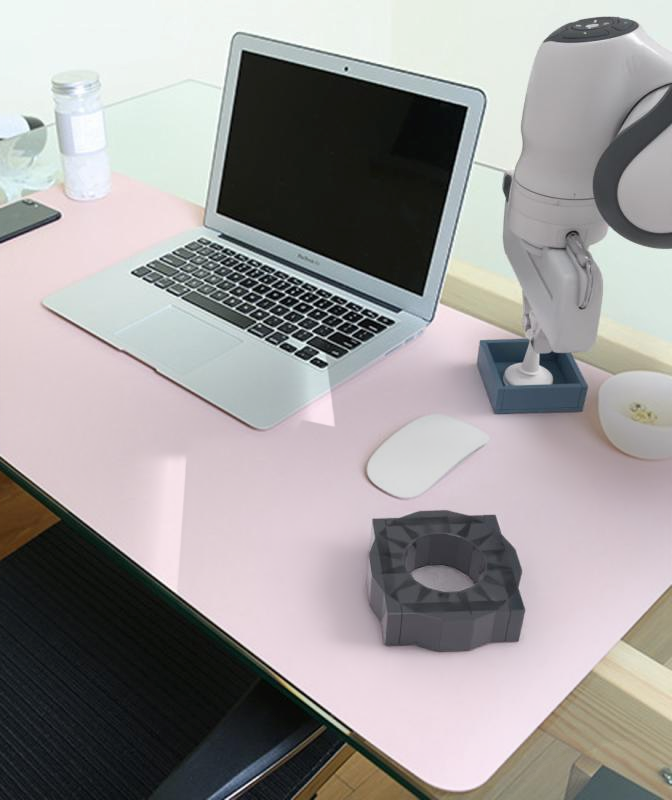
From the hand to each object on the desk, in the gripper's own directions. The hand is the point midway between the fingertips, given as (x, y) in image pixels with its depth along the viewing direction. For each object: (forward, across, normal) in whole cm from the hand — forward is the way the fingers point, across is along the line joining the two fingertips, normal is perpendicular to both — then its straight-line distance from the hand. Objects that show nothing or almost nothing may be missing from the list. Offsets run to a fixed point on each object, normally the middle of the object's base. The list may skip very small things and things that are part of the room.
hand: (536, 339), depth 93 cm
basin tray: (+6, 0, 0) cm, 6 cm away
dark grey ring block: (+6, -27, +14) cm, 31 cm away
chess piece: (+5, 0, 0) cm, 5 cm away
